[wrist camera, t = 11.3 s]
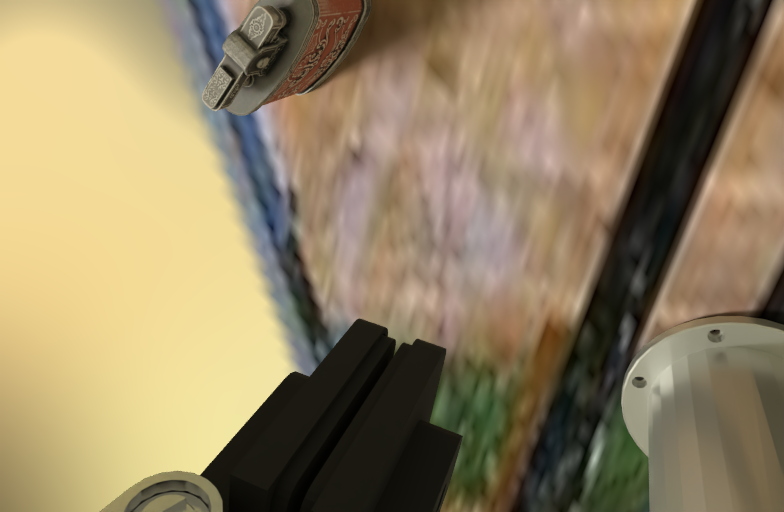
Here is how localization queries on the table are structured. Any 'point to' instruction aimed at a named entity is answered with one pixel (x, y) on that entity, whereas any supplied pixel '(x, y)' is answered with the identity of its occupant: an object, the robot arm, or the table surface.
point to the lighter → (284, 51)
